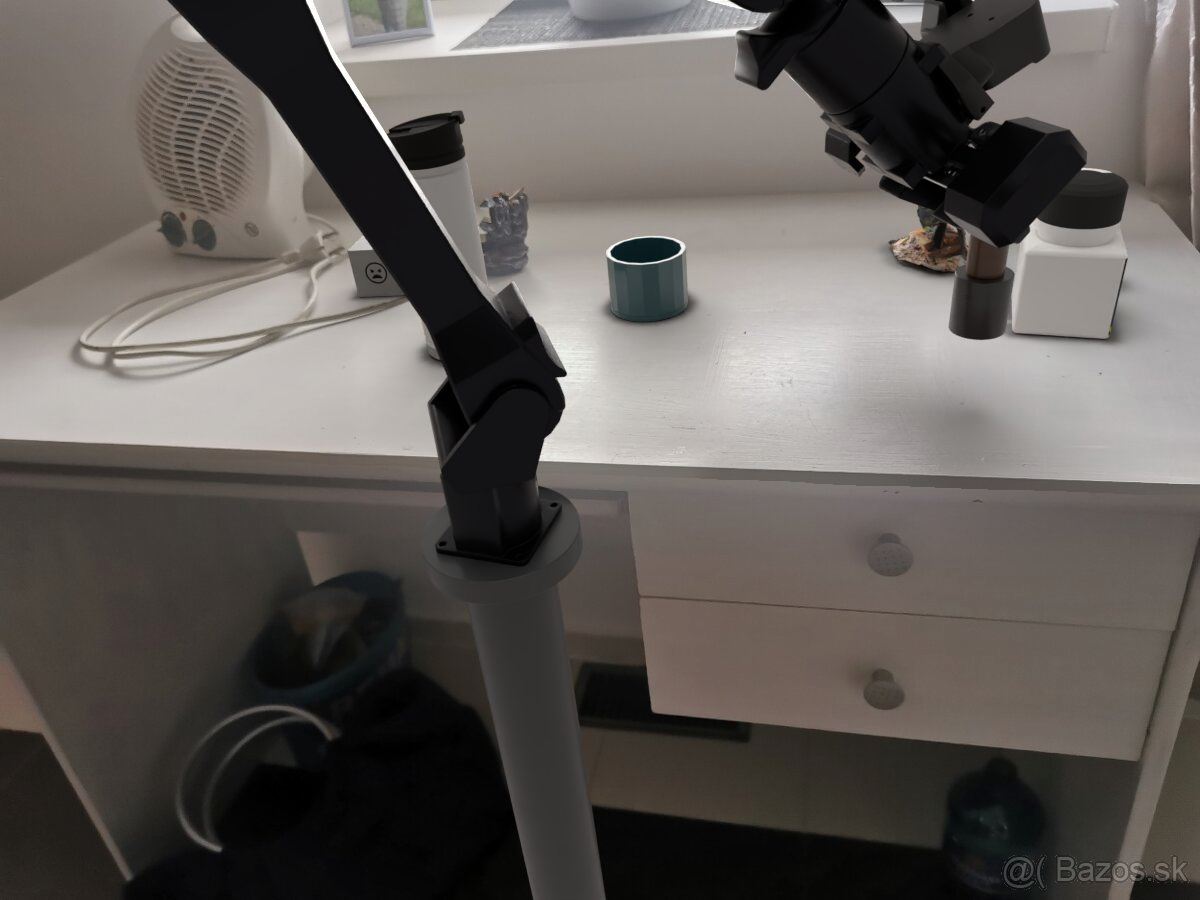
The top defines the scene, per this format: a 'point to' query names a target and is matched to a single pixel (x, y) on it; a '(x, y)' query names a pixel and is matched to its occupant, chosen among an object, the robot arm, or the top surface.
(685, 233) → the top surface
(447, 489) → the robot arm
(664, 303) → the beaker
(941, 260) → the plant with pod
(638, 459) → the top surface
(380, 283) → the dice cube
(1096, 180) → the medicine bottle
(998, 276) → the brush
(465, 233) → the travel mug
